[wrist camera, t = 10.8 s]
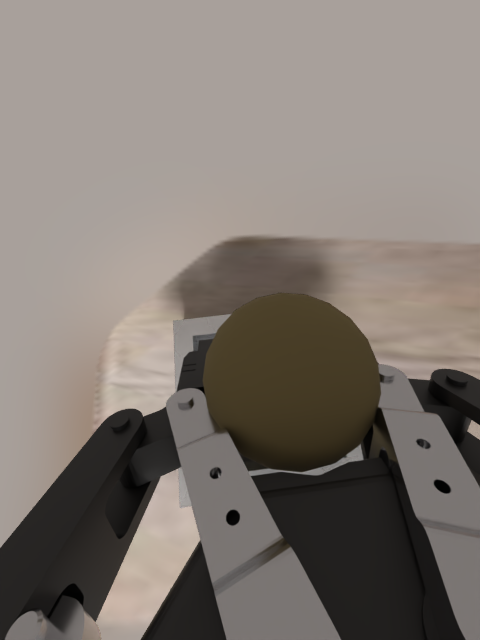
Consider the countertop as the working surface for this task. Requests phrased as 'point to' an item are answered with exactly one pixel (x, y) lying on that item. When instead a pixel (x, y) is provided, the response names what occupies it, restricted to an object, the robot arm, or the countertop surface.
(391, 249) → the countertop surface
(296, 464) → the cork
